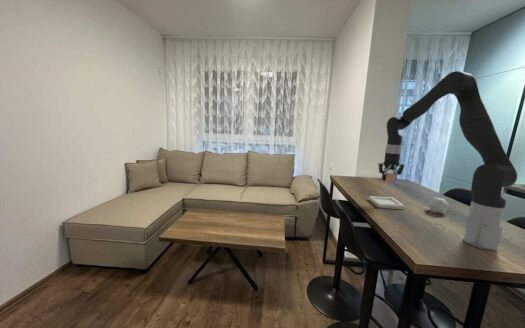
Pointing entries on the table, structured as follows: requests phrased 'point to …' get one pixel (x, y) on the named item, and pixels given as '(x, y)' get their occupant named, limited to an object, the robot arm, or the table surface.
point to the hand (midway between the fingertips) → (388, 180)
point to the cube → (390, 177)
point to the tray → (386, 202)
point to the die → (438, 205)
